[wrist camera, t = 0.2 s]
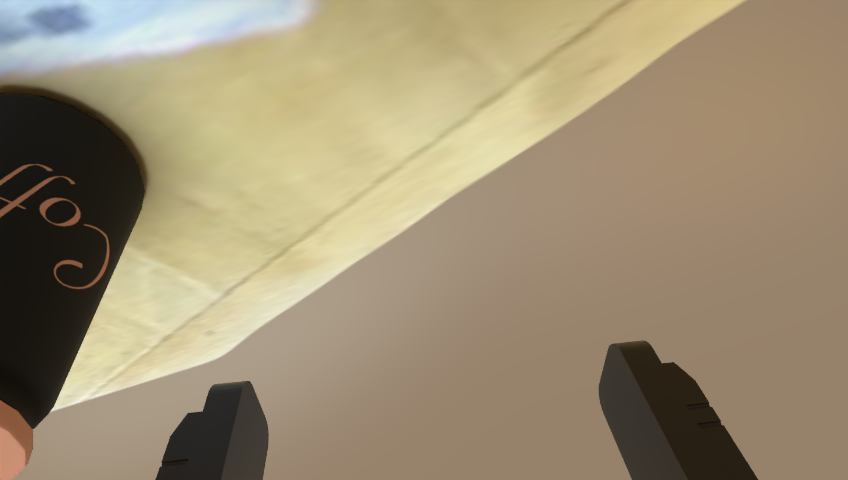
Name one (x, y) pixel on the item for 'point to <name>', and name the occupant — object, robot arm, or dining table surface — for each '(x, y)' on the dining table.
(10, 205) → the coffee jar
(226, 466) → the robot arm
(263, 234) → the dining table surface
